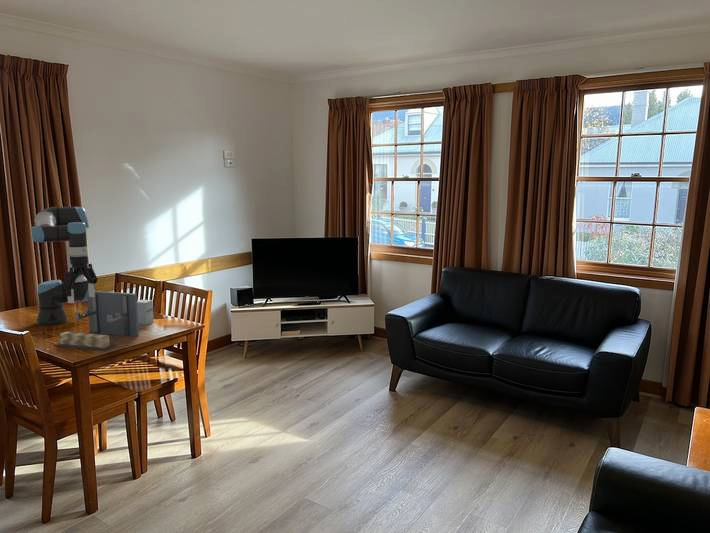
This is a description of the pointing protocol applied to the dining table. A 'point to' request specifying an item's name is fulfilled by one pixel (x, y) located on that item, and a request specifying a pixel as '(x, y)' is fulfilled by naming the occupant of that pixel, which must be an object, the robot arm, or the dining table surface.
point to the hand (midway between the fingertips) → (81, 299)
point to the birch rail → (84, 339)
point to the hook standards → (109, 317)
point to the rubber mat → (85, 346)
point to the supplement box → (145, 311)
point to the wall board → (109, 306)
